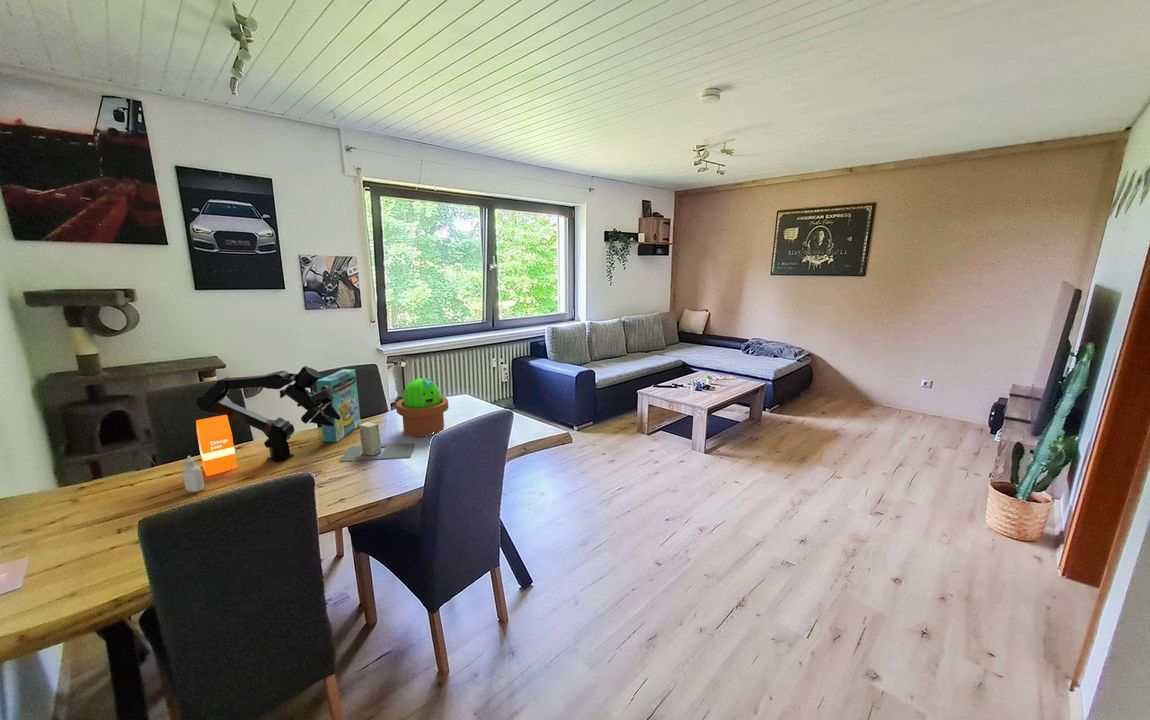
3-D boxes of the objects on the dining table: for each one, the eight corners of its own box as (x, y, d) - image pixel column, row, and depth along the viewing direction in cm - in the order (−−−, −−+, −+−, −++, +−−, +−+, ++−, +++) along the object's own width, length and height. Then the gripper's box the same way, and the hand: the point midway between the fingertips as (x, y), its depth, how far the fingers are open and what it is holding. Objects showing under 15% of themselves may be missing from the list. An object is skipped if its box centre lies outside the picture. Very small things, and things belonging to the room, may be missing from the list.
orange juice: (237, 468, 159) (229, 417, 154) (206, 476, 153) (197, 423, 148) (232, 460, 164) (225, 411, 159) (202, 468, 158) (193, 417, 153)
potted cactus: (391, 428, 199) (386, 376, 194) (436, 418, 214) (433, 369, 209) (410, 443, 184) (406, 386, 178) (457, 430, 198) (455, 378, 193)
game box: (337, 442, 183) (330, 380, 178) (322, 442, 183) (315, 380, 178) (361, 425, 203) (356, 369, 197) (348, 424, 203) (342, 368, 198)
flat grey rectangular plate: (338, 462, 166) (338, 461, 165) (350, 447, 179) (350, 446, 179) (410, 457, 170) (410, 456, 170) (416, 443, 184) (416, 442, 184)
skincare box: (381, 452, 175) (379, 423, 172) (372, 456, 171) (370, 427, 168) (370, 449, 177) (367, 421, 175) (361, 453, 173) (358, 424, 171)
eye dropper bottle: (188, 495, 141) (181, 460, 138) (185, 489, 144) (178, 455, 142) (205, 490, 144) (199, 456, 141) (202, 484, 148) (195, 451, 145)
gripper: (306, 388, 155) (342, 415, 160) (325, 375, 173) (358, 400, 178) (285, 410, 156) (322, 436, 160) (306, 395, 174) (339, 419, 178)
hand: (336, 422), depth 169 cm, fingers open, 7 cm apart
